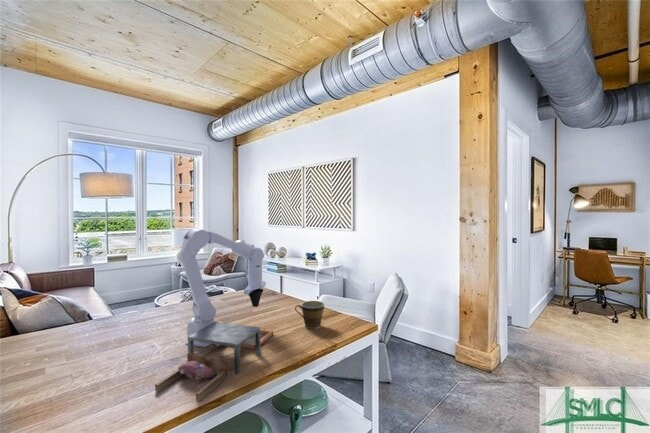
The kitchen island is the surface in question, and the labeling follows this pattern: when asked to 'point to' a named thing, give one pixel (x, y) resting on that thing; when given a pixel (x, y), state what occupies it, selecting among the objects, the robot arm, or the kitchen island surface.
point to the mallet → (211, 362)
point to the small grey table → (226, 338)
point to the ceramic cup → (312, 314)
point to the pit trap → (263, 337)
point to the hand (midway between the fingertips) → (255, 306)
